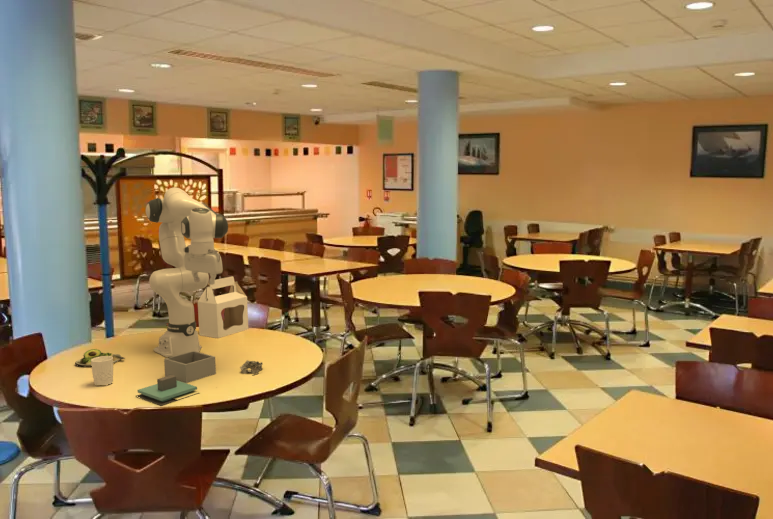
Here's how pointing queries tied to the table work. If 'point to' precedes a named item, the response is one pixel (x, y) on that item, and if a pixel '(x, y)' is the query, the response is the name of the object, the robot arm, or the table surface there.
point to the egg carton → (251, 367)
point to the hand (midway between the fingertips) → (204, 283)
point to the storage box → (190, 366)
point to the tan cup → (102, 370)
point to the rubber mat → (160, 401)
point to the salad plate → (93, 354)
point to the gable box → (213, 306)
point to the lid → (167, 389)
